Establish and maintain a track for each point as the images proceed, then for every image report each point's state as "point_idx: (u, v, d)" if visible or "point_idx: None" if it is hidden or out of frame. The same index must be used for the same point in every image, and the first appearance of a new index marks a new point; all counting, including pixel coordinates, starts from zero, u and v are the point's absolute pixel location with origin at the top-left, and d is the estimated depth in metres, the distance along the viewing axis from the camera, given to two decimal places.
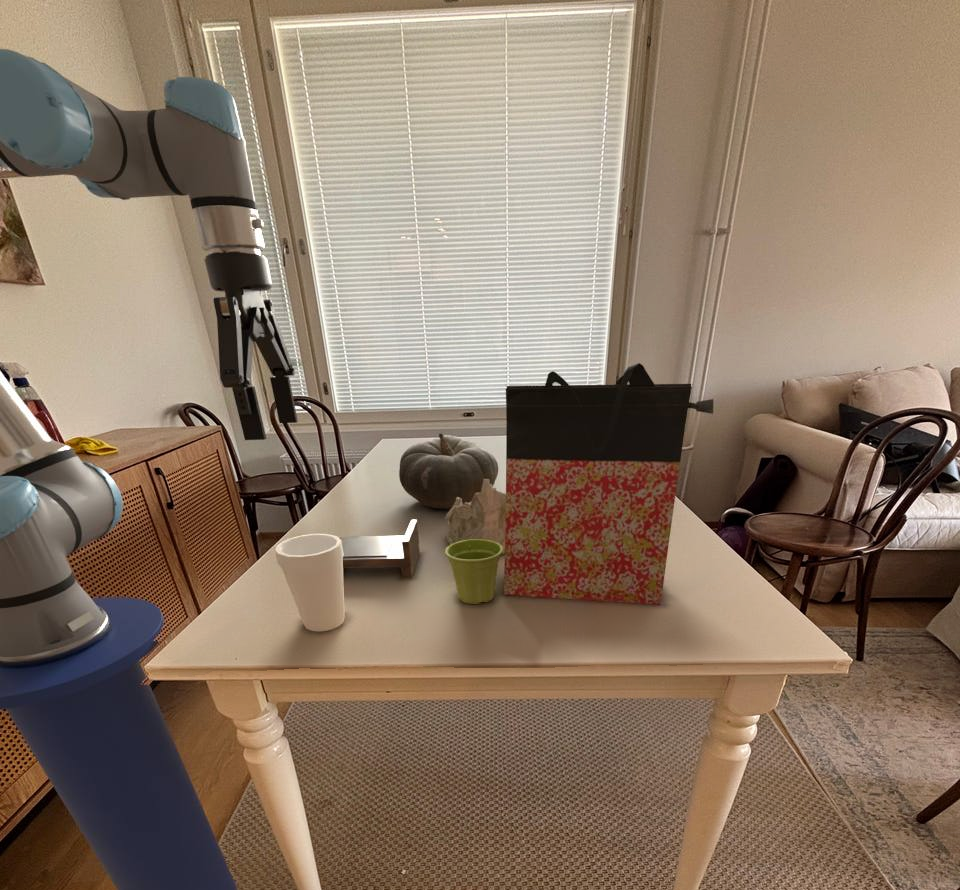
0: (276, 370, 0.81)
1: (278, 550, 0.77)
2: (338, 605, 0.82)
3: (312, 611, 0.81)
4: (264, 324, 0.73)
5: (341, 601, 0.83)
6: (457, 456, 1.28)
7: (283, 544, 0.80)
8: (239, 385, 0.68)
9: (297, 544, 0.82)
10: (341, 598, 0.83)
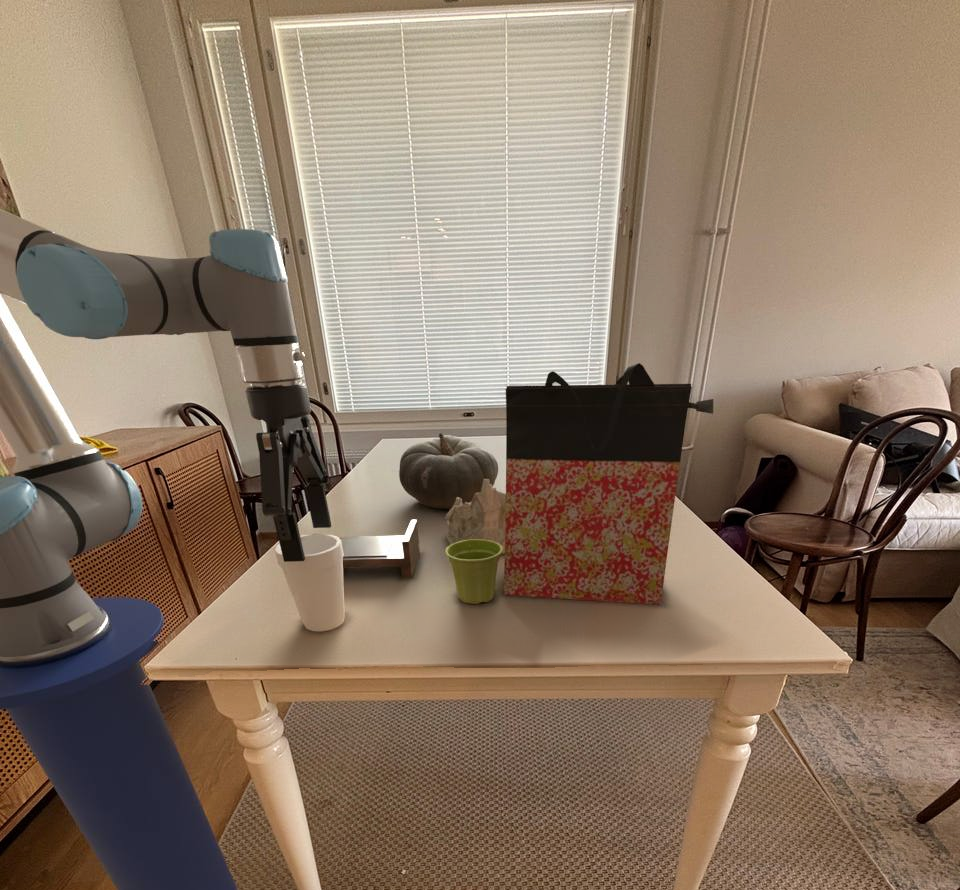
0: (311, 479, 0.81)
1: (278, 550, 0.77)
2: (338, 605, 0.82)
3: (312, 611, 0.81)
4: (302, 444, 0.73)
5: (341, 601, 0.83)
6: (457, 456, 1.28)
7: None
8: (280, 515, 0.68)
9: None
10: (341, 598, 0.83)
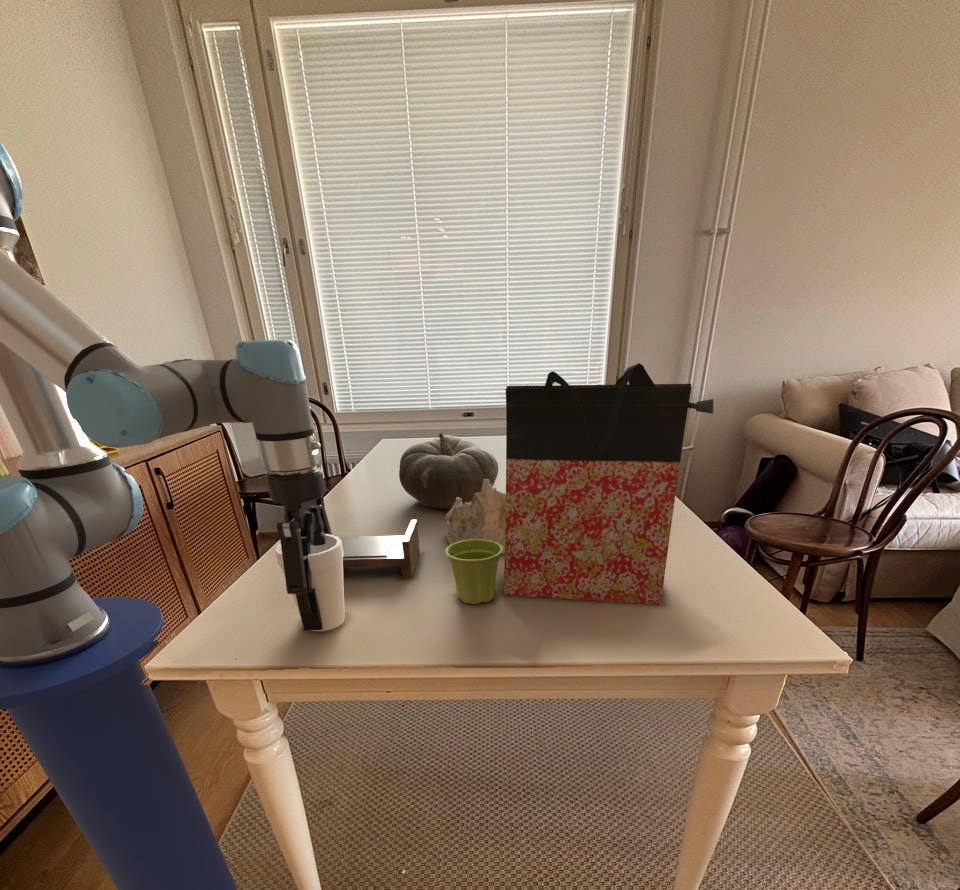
0: None
1: (278, 550, 0.77)
2: (338, 605, 0.82)
3: None
4: None
5: (341, 601, 0.83)
6: (457, 456, 1.28)
7: None
8: None
9: None
10: (341, 598, 0.83)
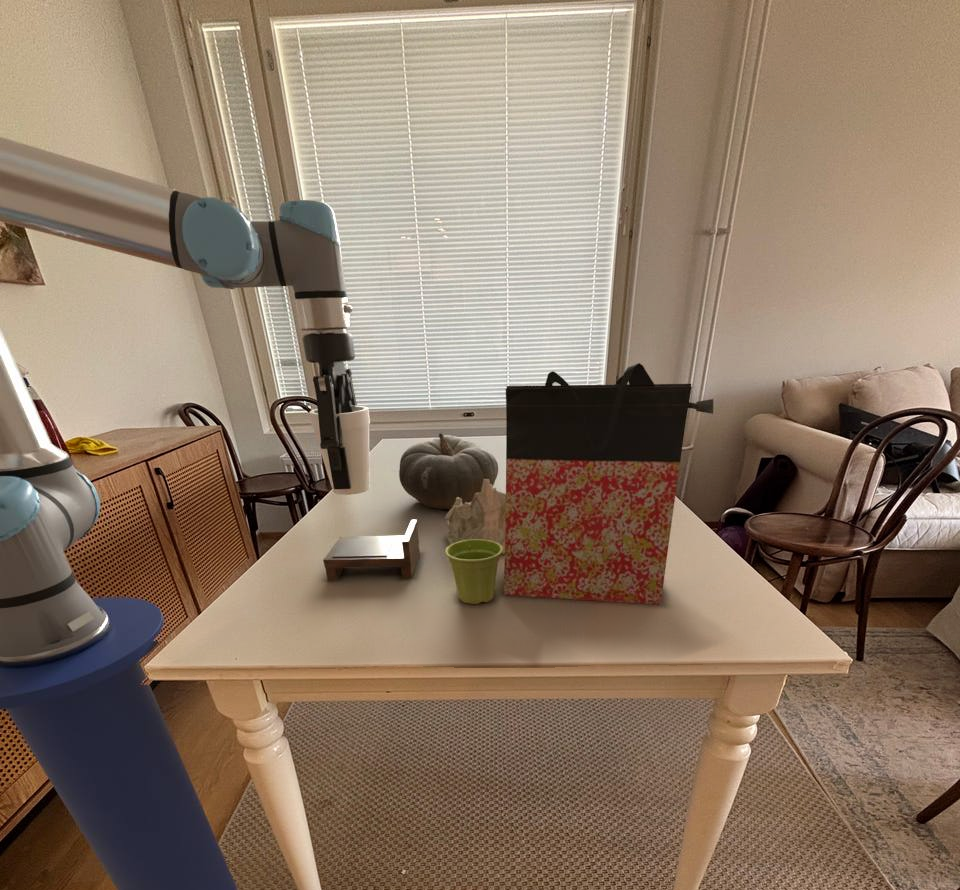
0: None
1: (312, 412, 0.86)
2: (365, 470, 0.91)
3: None
4: None
5: (367, 467, 0.91)
6: (457, 456, 1.28)
7: (316, 411, 0.88)
8: (334, 447, 0.84)
9: None
10: (367, 464, 0.91)
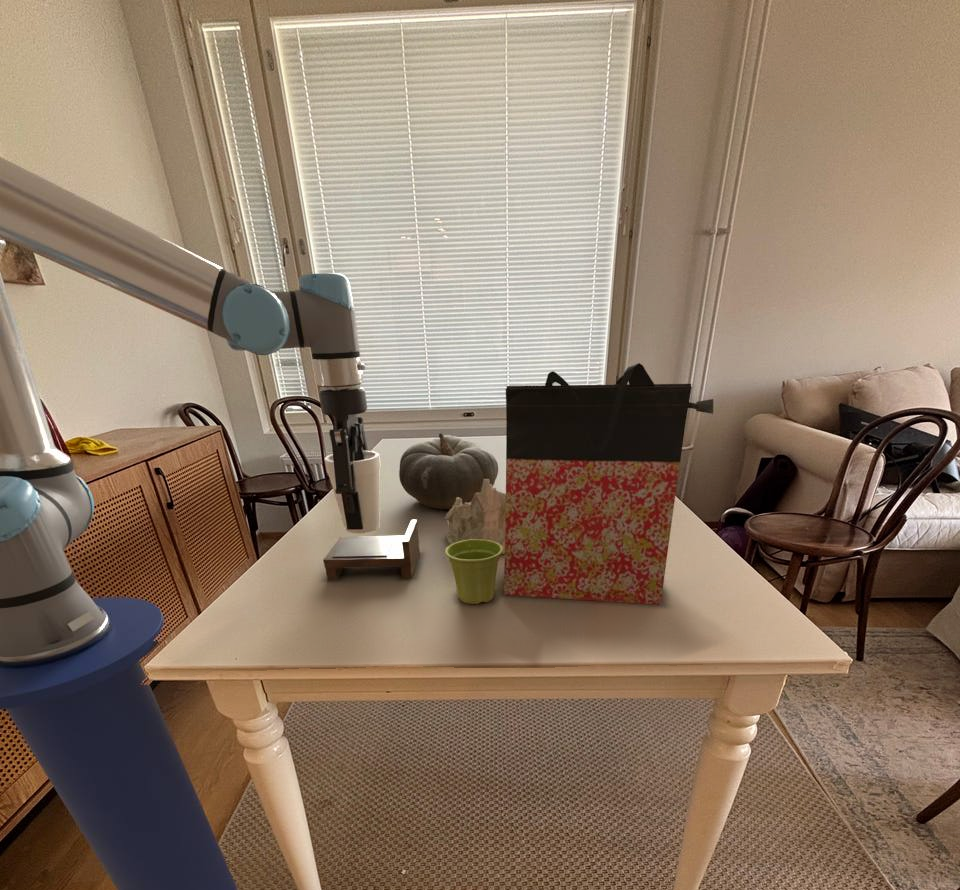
0: None
1: (327, 459, 0.92)
2: (376, 510, 0.97)
3: None
4: (358, 435, 0.93)
5: (378, 508, 0.98)
6: (457, 456, 1.28)
7: (330, 456, 0.95)
8: (348, 493, 0.90)
9: None
10: (378, 505, 0.97)
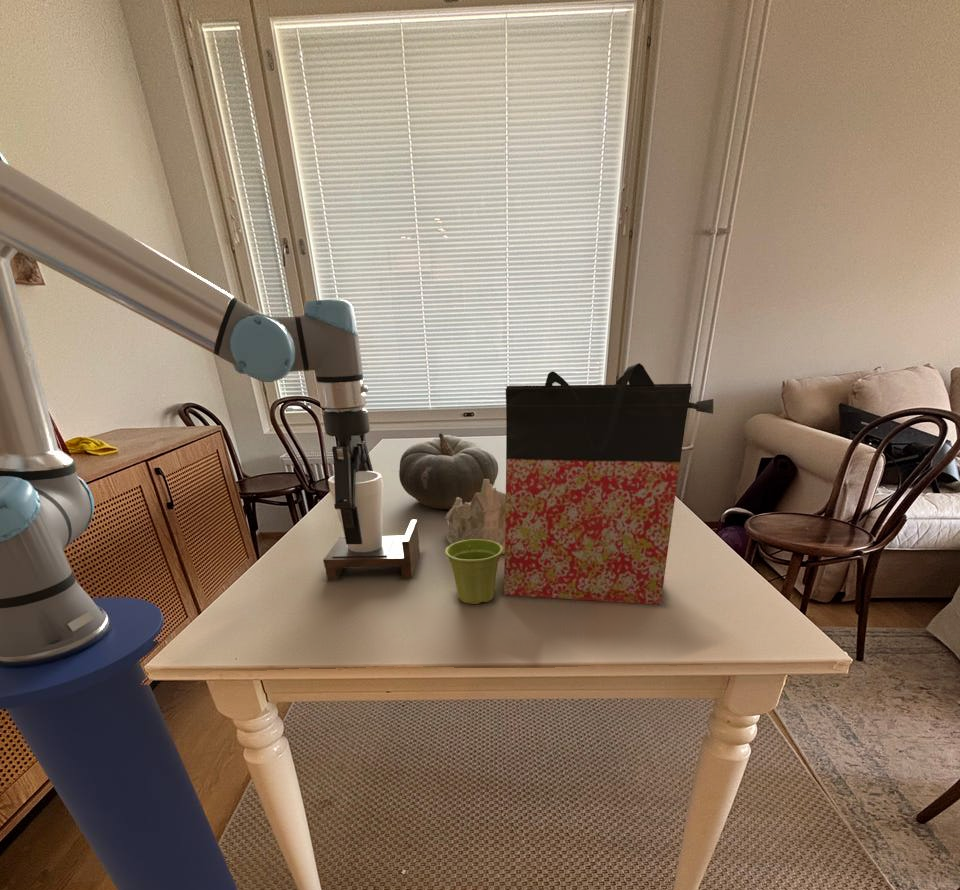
0: None
1: (331, 480, 0.94)
2: (378, 530, 0.99)
3: None
4: (361, 454, 0.95)
5: (380, 527, 1.00)
6: (457, 456, 1.28)
7: None
8: (347, 508, 0.90)
9: None
10: (380, 524, 0.99)
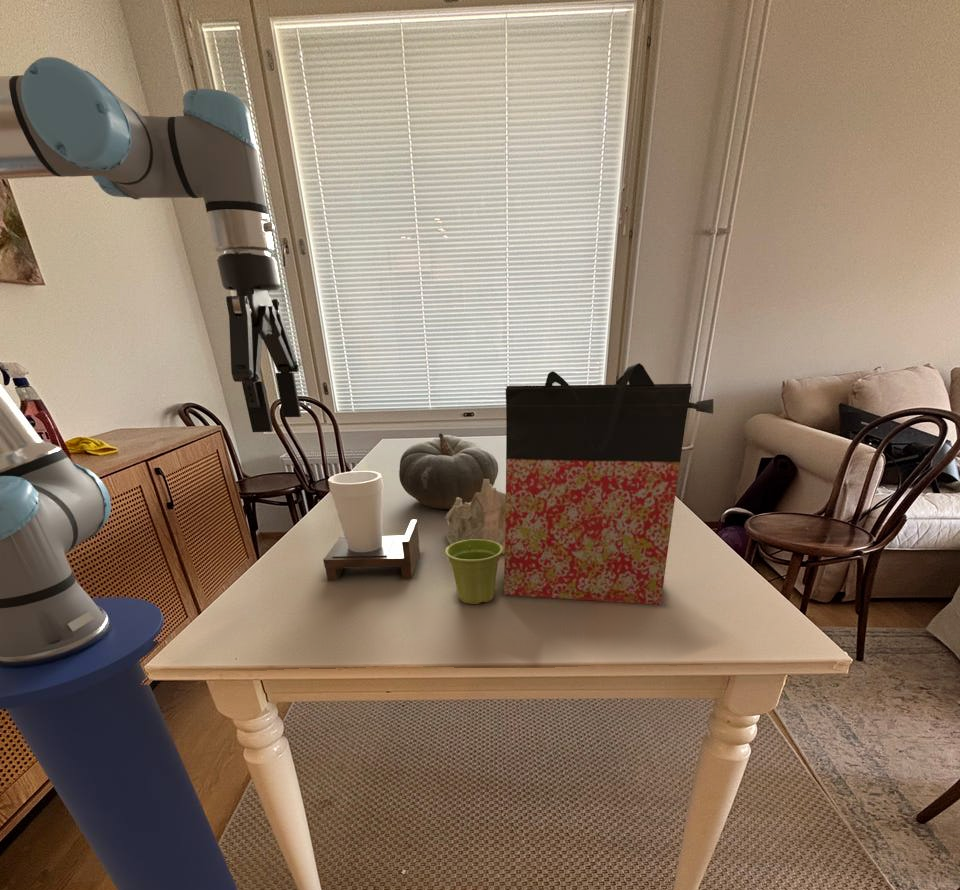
0: (281, 366, 0.85)
1: (331, 480, 0.94)
2: (378, 530, 0.99)
3: (357, 534, 0.97)
4: (272, 322, 0.77)
5: (380, 527, 1.00)
6: (457, 456, 1.28)
7: (334, 477, 0.96)
8: (249, 379, 0.72)
9: (344, 479, 0.99)
10: (380, 524, 0.99)
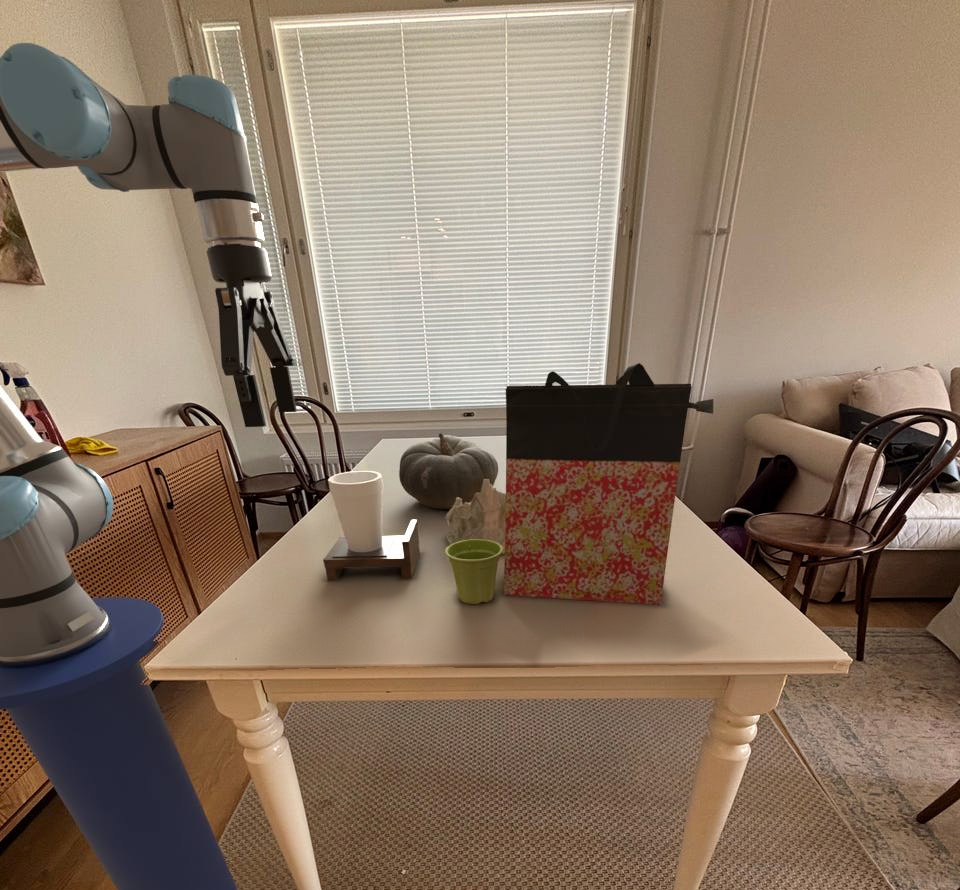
0: (276, 360, 0.84)
1: (331, 480, 0.94)
2: (378, 530, 0.99)
3: (357, 534, 0.97)
4: (264, 315, 0.76)
5: (380, 527, 1.00)
6: (457, 456, 1.28)
7: (334, 477, 0.96)
8: (240, 373, 0.70)
9: (344, 479, 0.99)
10: (380, 524, 0.99)
